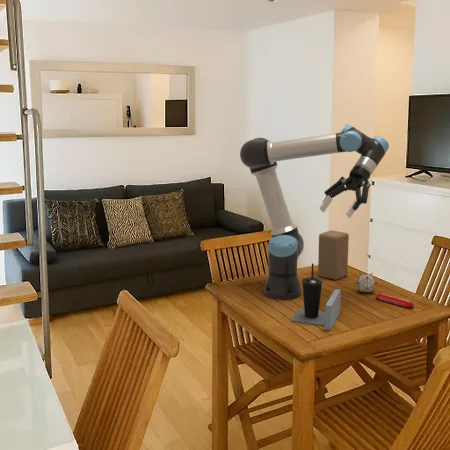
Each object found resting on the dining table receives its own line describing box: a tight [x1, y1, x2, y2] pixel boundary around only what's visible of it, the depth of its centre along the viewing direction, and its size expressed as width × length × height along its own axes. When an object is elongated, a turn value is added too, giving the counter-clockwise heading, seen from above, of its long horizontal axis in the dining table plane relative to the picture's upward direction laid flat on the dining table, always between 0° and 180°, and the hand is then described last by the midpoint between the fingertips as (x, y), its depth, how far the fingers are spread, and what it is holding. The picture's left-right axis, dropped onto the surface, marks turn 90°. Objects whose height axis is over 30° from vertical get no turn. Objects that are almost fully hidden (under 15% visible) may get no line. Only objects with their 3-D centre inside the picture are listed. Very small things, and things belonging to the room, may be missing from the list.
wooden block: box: [317, 229, 350, 281], centre depth 251 cm, size 10×10×20 cm
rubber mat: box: [290, 308, 325, 327], centre depth 206 cm, size 12×12×1 cm
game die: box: [354, 272, 378, 294], centre depth 231 cm, size 9×8×10 cm
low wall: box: [324, 288, 342, 331], centre depth 202 cm, size 2×18×9 cm, turn 158°
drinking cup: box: [301, 263, 324, 318], centre depth 204 cm, size 8×8×20 cm
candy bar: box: [374, 293, 415, 308], centre depth 219 cm, size 16×4×3 cm, turn 43°
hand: (334, 213), depth 215 cm, fingers open, 13 cm apart
